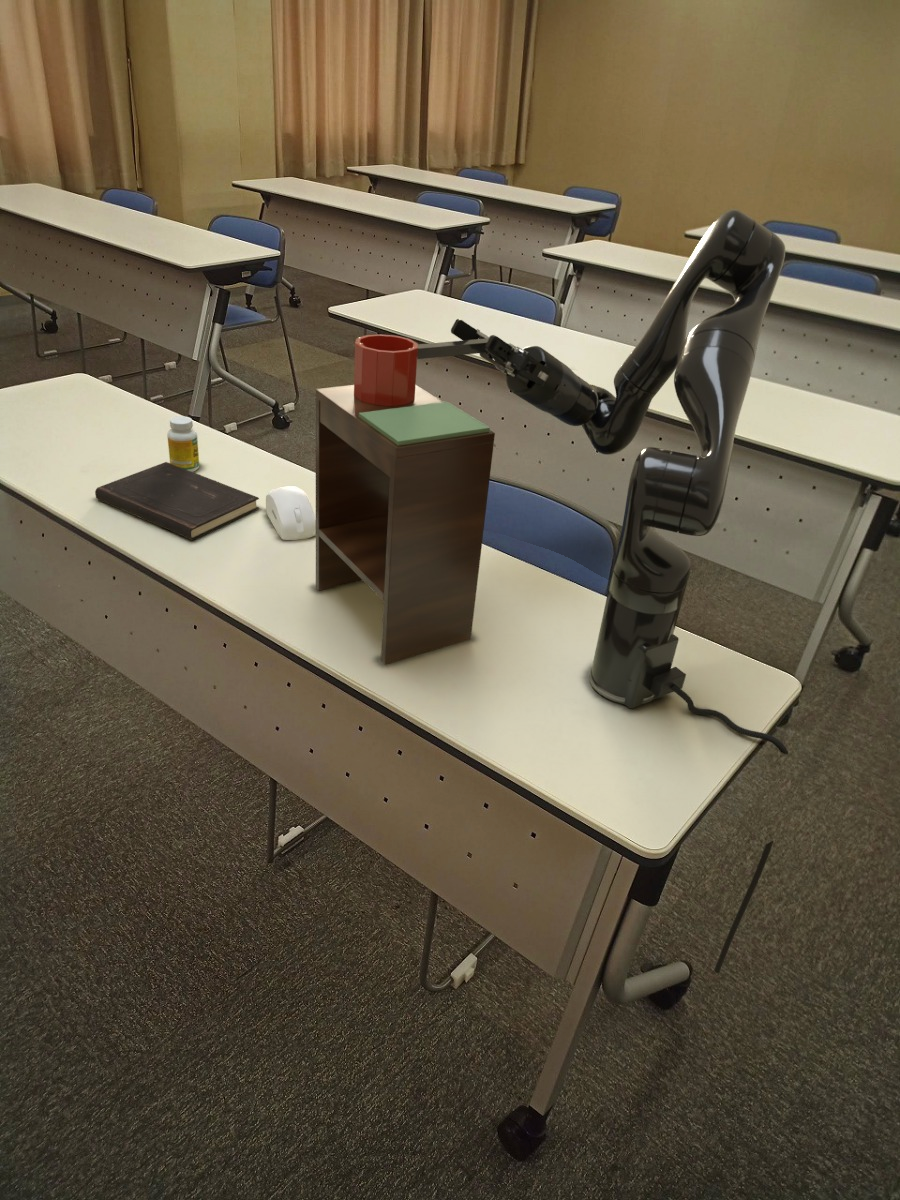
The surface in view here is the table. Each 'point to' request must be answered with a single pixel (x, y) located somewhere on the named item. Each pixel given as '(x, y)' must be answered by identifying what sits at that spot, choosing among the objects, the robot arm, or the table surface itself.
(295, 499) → the computer mouse
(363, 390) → the pot
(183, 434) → the supplement bottle
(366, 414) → the green flat slab
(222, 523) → the hardcover book
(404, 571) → the shelf
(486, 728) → the table surface
